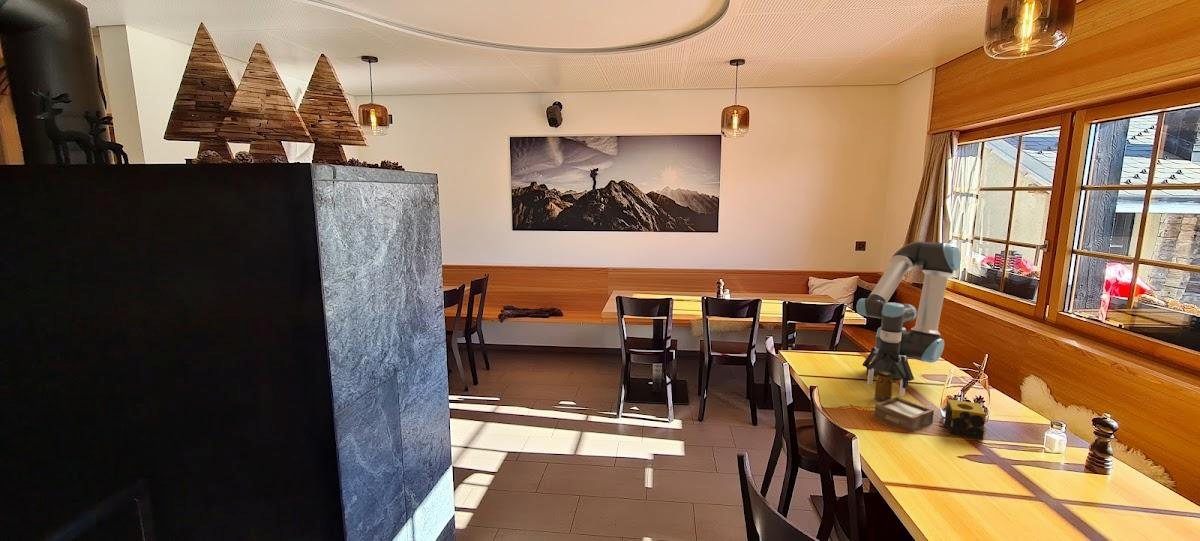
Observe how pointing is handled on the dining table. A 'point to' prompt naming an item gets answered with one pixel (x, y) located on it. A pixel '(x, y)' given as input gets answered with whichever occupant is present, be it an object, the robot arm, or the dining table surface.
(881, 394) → the condiment
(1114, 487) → the dining table surface
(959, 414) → the yellow black cube
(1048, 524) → the dining table surface
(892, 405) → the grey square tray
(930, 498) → the dining table surface
